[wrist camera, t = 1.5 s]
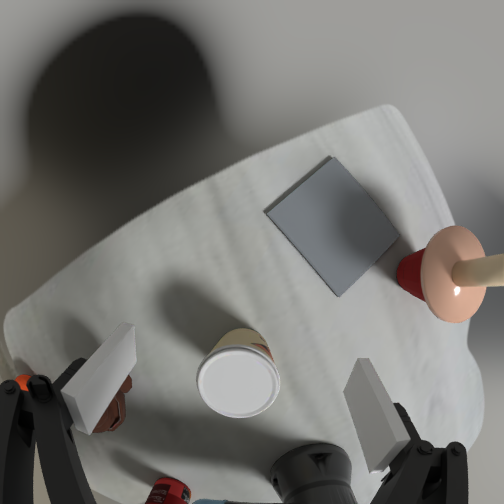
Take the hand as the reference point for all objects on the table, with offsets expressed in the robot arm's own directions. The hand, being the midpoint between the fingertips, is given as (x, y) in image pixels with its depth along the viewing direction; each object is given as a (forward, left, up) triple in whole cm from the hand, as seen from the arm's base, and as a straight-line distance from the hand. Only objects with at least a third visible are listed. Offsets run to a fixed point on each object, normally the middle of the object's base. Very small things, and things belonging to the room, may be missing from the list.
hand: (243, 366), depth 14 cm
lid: (-14, -22, -13) cm, 29 cm away
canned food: (-21, +40, -25) cm, 52 cm away
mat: (0, -17, -25) cm, 30 cm away
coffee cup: (-5, +6, -25) cm, 26 cm away
